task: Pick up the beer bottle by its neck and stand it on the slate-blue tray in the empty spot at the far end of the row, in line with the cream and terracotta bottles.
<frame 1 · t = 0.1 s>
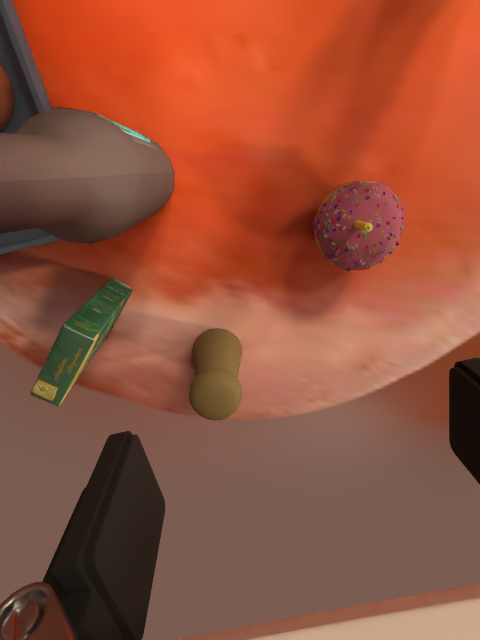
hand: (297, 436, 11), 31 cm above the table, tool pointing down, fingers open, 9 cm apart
beer bottle: (138, 176, 37), on the table
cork: (217, 350, 45), on the table
coffee box: (108, 310, 42), on the table
cupcake: (343, 220, 39), on the table
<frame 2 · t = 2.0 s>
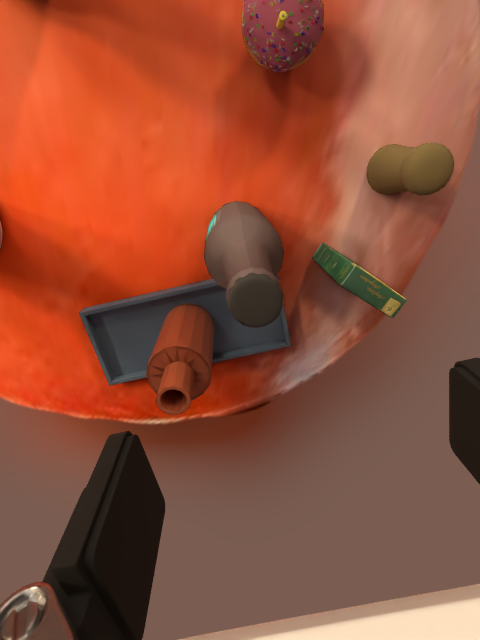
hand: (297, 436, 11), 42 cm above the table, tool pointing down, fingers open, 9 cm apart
beer bottle: (237, 229, 50), on the table
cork: (389, 169, 48), on the table
coffee box: (338, 264, 52), on the table
terracotta bottle: (189, 326, 54), resting on tray
cupcake: (275, 37, 42), on the table
tray: (189, 324, 54), on the table
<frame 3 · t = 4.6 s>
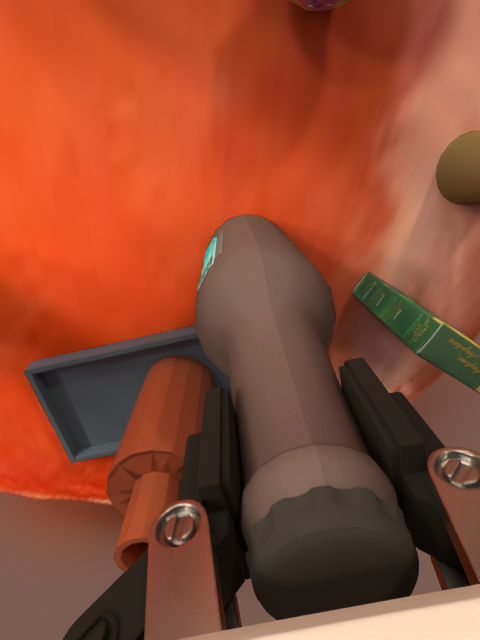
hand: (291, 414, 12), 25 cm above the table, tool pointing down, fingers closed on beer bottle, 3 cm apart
beer bottle: (246, 253, 35), on the table, touching gripper
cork: (468, 168, 33), on the table
coffee box: (387, 301, 37), on the table
terracotta bottle: (179, 384, 39), resting on tray
tray: (180, 381, 40), on the table
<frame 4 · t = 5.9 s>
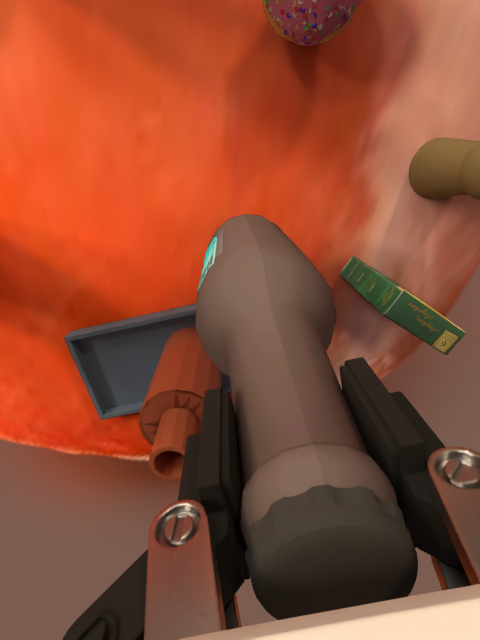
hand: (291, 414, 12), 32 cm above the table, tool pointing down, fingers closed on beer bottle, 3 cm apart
beer bottle: (247, 253, 35), point 7 cm above the table, touching gripper
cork: (436, 169, 39), on the table
coffee box: (370, 281, 44), on the table
terracotta bottle: (193, 352, 46), resting on tray
cupcake: (301, 4, 34), on the table
tray: (193, 350, 47), on the table
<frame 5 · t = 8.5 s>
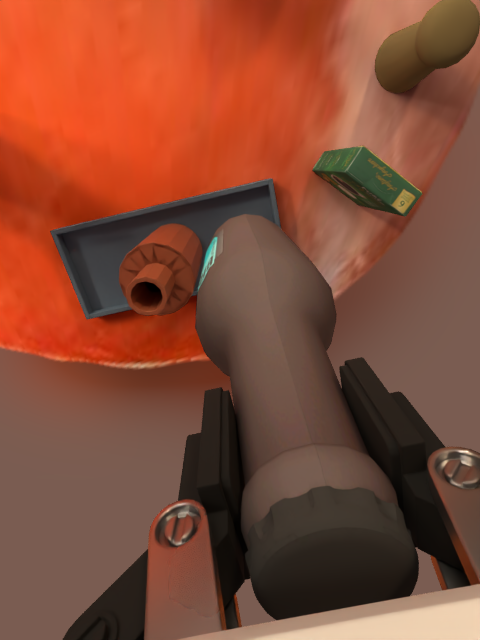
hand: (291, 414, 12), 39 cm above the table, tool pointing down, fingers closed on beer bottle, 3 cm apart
beer bottle: (247, 253, 35), point 14 cm above the table, touching gripper
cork: (400, 62, 42), on the table
coffee box: (342, 179, 46), on the table
terracotta bottle: (175, 251, 48), resting on tray
tray: (175, 250, 49), on the table
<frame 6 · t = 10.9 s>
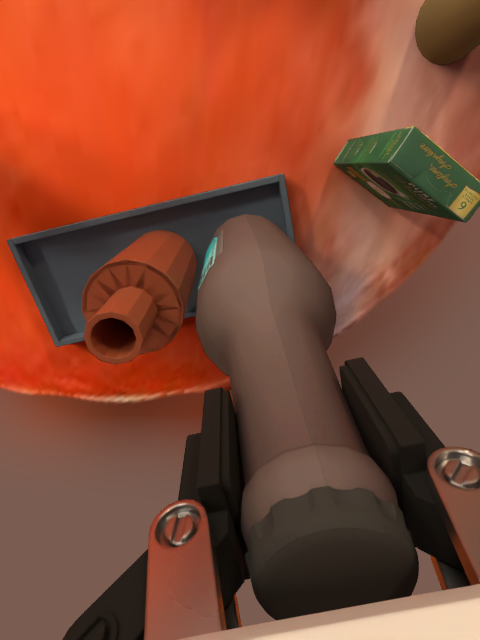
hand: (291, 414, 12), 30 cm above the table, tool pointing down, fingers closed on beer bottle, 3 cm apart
beer bottle: (247, 253, 35), point 5 cm above the table, touching gripper
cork: (447, 25, 33), on the table
coffee box: (369, 174, 37), on the table
terracotta bottle: (163, 263, 39), resting on tray
tray: (164, 262, 40), on the table
when the fingers open (25 cm above the table, at t = 12.5 s): beer bottle stays where it is, resting on tray.
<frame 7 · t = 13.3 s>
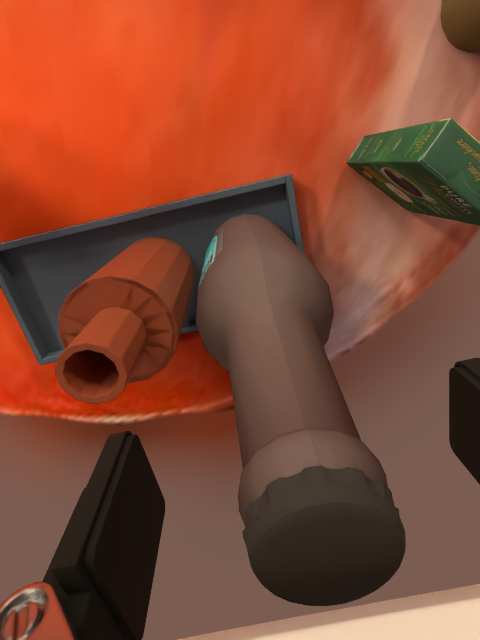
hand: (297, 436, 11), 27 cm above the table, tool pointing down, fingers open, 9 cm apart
beer bottle: (247, 252, 35), resting on tray
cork: (477, 6, 29), on the table
coffee box: (386, 175, 34), on the table
terracotta bottle: (157, 273, 35), resting on tray
tray: (158, 272, 36), on the table
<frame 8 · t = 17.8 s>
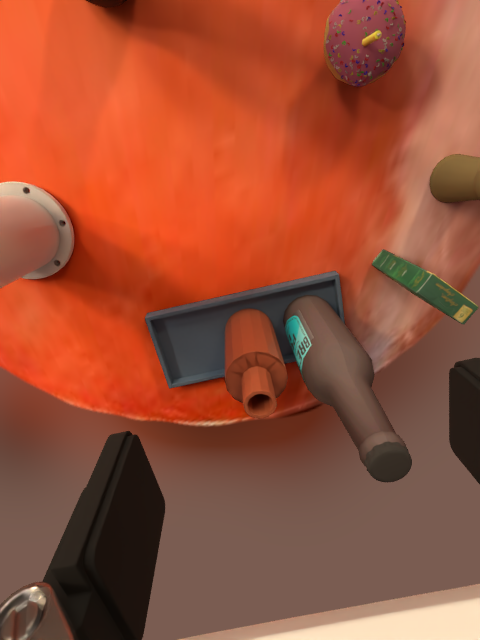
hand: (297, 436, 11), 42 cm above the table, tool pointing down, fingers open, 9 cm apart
beer bottle: (306, 317, 55), resting on tray
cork: (451, 178, 49), on the table
coffee box: (396, 270, 53), on the table
terracotta bottle: (248, 330, 55), resting on tray
cupcake: (349, 51, 43), on the table
tray: (248, 329, 56), on the table
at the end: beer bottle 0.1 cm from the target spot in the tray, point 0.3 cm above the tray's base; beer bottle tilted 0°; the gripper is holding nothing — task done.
